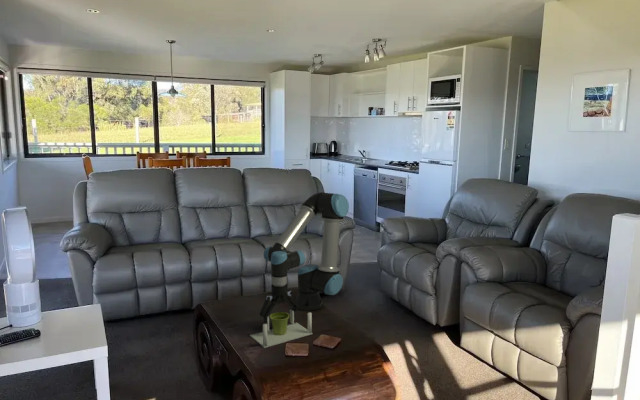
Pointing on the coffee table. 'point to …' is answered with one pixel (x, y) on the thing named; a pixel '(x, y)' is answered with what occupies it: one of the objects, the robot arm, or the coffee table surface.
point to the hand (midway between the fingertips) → (279, 326)
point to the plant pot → (279, 322)
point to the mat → (292, 333)
